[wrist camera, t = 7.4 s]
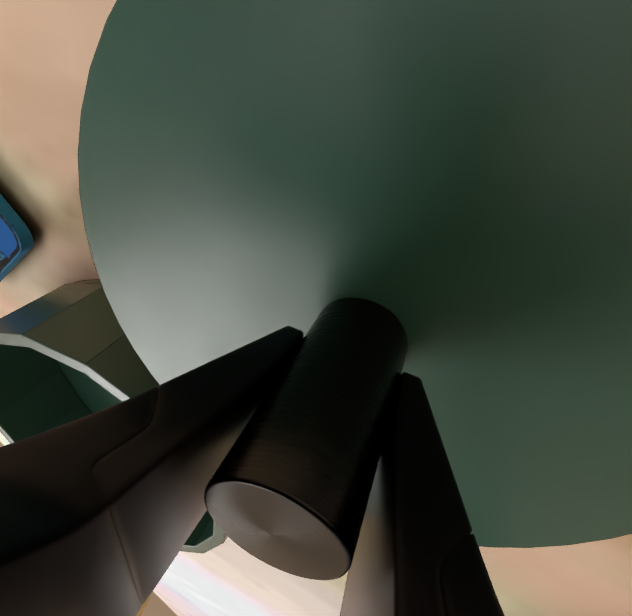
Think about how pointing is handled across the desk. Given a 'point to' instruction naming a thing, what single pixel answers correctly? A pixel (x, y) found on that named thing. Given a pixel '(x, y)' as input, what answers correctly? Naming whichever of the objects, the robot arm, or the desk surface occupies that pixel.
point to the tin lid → (380, 247)
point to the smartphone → (12, 238)
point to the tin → (73, 371)
